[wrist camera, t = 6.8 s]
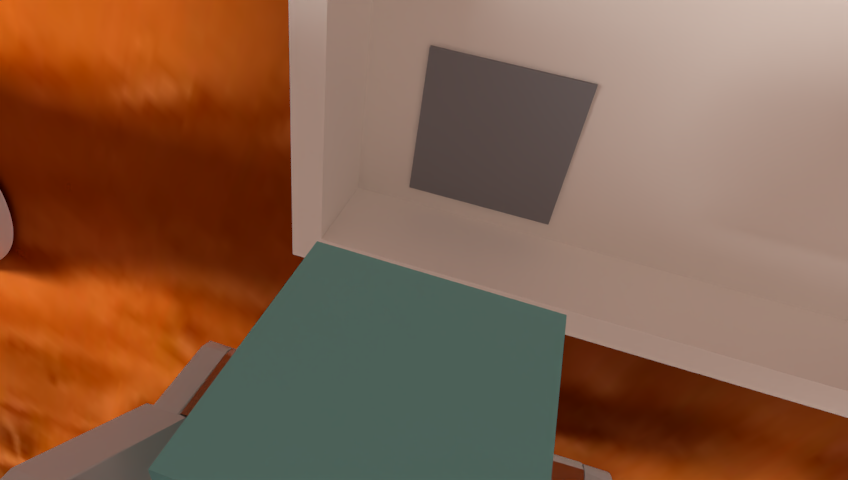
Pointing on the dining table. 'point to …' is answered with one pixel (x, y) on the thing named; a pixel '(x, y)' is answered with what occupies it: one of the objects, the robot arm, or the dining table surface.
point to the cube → (379, 383)
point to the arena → (596, 167)
